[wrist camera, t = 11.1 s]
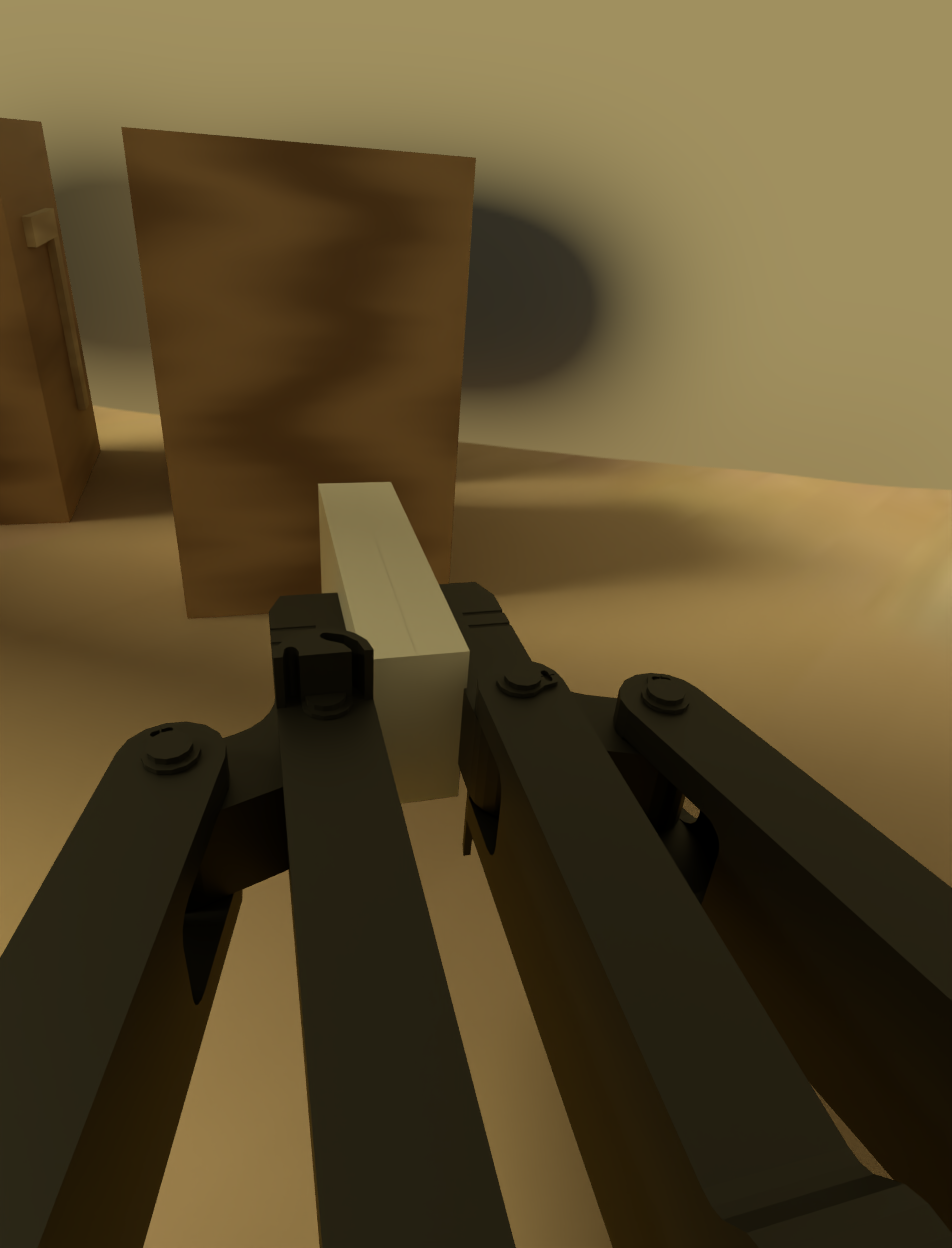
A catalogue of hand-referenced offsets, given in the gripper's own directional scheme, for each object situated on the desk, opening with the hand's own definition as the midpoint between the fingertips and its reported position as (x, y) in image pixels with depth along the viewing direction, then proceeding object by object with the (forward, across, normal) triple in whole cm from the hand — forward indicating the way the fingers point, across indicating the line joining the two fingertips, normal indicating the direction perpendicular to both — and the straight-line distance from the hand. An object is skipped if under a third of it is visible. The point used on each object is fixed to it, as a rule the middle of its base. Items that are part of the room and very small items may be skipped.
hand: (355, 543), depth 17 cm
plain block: (+13, 0, -7) cm, 15 cm away
